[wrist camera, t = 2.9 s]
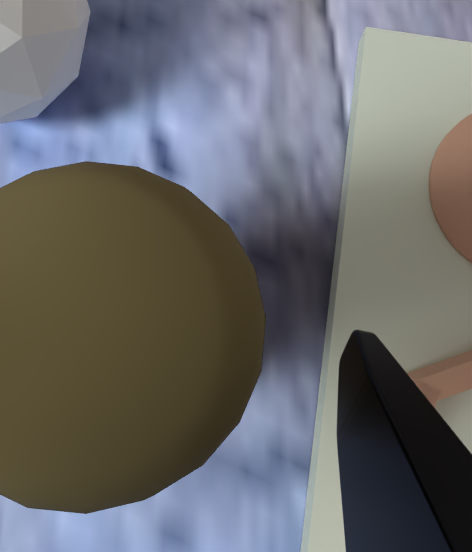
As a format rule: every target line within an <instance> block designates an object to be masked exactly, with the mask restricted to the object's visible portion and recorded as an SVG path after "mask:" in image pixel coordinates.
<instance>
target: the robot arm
mask: <svg viewBox="0 0 472 552" xmlns="http://www.w3.org/2000/svg"><path fill="white" fill-rule="evenodd" d="M337 450H338V462H339V475H340V487H341V499H342V511H343V523H344V535H345V547H346V552H472V454H471V452H470V451H469V450H468V449H467V447H466V446H465V445H464V444H463V442H462V441H461V440H460V439H459V437H458V436H457V435H456V434H455V432H454V431H453V430H452V429H451V427H450V426H449V425H448V424H447V423H446V421H445V420H444V419H443V418H442V416H441V415H440V414H439V413H438V411H437V410H436V409H435V408H434V406H433V405H432V404H431V403H430V401H429V400H428V399H427V398H426V396H425V395H424V394H423V393H422V391H421V390H420V389H419V388H418V386H417V385H416V384H415V383H414V381H413V380H412V379H411V378H410V376H409V375H408V374H407V373H406V371H405V370H404V369H403V368H402V367H401V365H400V364H399V363H398V362H397V360H396V359H395V358H394V357H393V355H392V354H391V353H390V352H389V350H388V349H387V348H386V347H385V345H384V344H383V343H382V342H381V340H380V339H379V338H378V337H377V336H376V335H375V334H374V333H372V332H368V331H363V330H354V331H353V332H352V333H351V335H350V337H349V340H348V342H347V344H346V346H345V348H344V351H343V353H342V355H341V358H340V362H339V375H338V402H337Z"/></svg>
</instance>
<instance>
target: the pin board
mask: <svg viewBox="0 0 472 552" xmlns="http://www.w3.org/2000/svg"><path fill="white" fill-rule="evenodd" d="M354 330H363V331H368V332H372V333H374V334H375V335H376V336H377V337H378V338H379V339H380V340H381V342H382V343H383V344H384V345H385V347H386V348H387V349H388V350H389V352H390V353H391V354H392V355H393V357H394V358H395V359H396V360H397V362H398V363H399V364H400V365H401V367H402V368H403V369H404V370H405V371H406V373H407V374H408V375H409V376H410V378H411V379H412V380H413V381H414V383H415V384H416V385H417V386H418V388H419V389H420V390H421V391H422V393H423V394H424V395H425V396H426V398H427V399H428V400H429V401H430V403H431V404H432V405H433V406H434V408H435V409H436V410H437V411H438V413H439V414H440V415H441V416H442V418H443V419H444V420H445V421H446V423H447V424H448V425H449V426H450V427H451V429H452V430H453V431H454V432H455V434H456V435H457V436H458V437H459V439H460V440H461V441H462V442H463V444H464V445H465V446H466V447H467V449H468V450H469V451H470V452H471V454H472V42H465V41H458V40H451V39H445V38H438V37H431V36H425V35H418V34H411V33H404V32H398V31H391V30H384V29H377V28H371V27H366V28H365V30H364V33H363V35H362V37H361V39H360V42H359V44H358V52H357V61H356V70H355V78H354V87H353V96H352V105H351V114H350V122H349V131H348V140H347V149H346V157H345V166H344V175H343V184H342V192H341V201H340V210H339V219H338V227H337V236H336V245H335V254H334V262H333V271H332V280H331V289H330V297H329V306H328V315H327V324H326V333H325V341H324V350H323V359H322V368H321V376H320V385H319V394H318V403H317V411H316V420H315V429H314V438H313V446H312V455H311V464H310V473H309V481H308V490H307V499H306V508H305V516H304V525H303V534H302V543H301V552H346V547H345V535H344V523H343V511H342V499H341V487H340V475H339V462H338V450H337V402H338V375H339V362H340V358H341V355H342V353H343V351H344V348H345V346H346V344H347V342H348V340H349V337H350V335H351V333H352V332H353V331H354Z"/></svg>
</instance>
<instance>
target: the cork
mask: <svg viewBox="0 0 472 552" xmlns="http://www.w3.org/2000/svg"><path fill="white" fill-rule="evenodd" d="M265 323H266V317H265V312H264V308H263V303H262V299H261V294H260V290H259V285H258V281H257V277H256V272H255V268H254V266H253V265H252V263H251V261H250V260H249V258H248V256H247V255H246V253H245V251H244V250H243V248H242V246H241V244H240V243H239V241H238V239H237V238H236V236H235V234H234V233H233V231H232V229H231V228H230V226H229V225H228V224H227V223H226V222H225V221H224V220H222V219H221V218H220V217H219V216H218V215H217V214H216V213H215V212H213V211H212V210H211V209H210V208H209V207H208V206H207V205H205V204H204V203H203V202H202V201H201V200H200V199H199V198H197V197H196V196H195V195H194V194H193V193H192V192H190V191H189V190H188V189H186V188H185V187H183V186H181V185H178V184H176V183H174V182H171V181H169V180H167V179H165V178H162V177H160V176H158V175H155V174H153V173H151V172H148V171H146V170H144V169H141V168H139V167H135V166H125V165H116V164H106V163H97V162H87V161H86V162H81V163H75V164H70V165H65V166H60V167H54V168H49V169H44V170H39V171H34V172H32V173H30V174H27V175H25V176H23V177H21V178H19V179H17V180H15V181H14V182H12V183H10V184H8V185H6V186H4V187H2V188H0V495H2V496H4V497H6V498H8V499H11V500H13V501H15V502H17V503H19V504H21V505H23V506H25V507H27V508H35V509H45V510H54V511H64V512H74V513H84V514H87V513H91V512H96V511H100V510H104V509H108V508H113V507H117V506H121V505H125V504H130V503H134V502H138V501H142V500H145V499H147V498H149V497H151V496H154V495H155V494H157V493H159V492H160V491H162V490H163V489H165V488H167V487H168V486H170V485H172V484H173V483H175V482H176V481H178V480H180V479H181V478H183V477H185V476H186V475H188V474H189V473H191V472H193V471H194V470H196V469H198V468H199V467H201V466H202V465H204V463H205V462H206V461H207V460H208V459H209V458H210V456H211V455H212V454H213V453H214V452H215V450H216V449H217V448H218V447H219V446H220V445H221V443H222V442H223V441H224V440H225V439H226V438H227V436H228V435H229V434H230V433H231V432H232V431H233V429H234V428H235V427H236V426H237V425H238V424H239V422H240V420H241V418H242V416H243V413H244V411H245V408H246V406H247V404H248V401H249V399H250V397H251V394H252V392H253V389H254V387H255V385H256V382H257V380H258V378H259V375H260V373H261V367H262V356H263V345H264V334H265Z"/></svg>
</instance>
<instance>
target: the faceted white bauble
mask: <svg viewBox="0 0 472 552" xmlns="http://www.w3.org/2000/svg"><path fill="white" fill-rule="evenodd" d="M90 12H91V11H90V8H89V5H88V1H87V0H0V123H6V122H12V121H18V120H23V119H29V118H35V117H37V116H38V115H39V114H40V113H41V112H42V111H43V110H44V109H45V108H46V107H47V106H48V105H49V104H50V103H51V102H52V101H53V100H54V99H55V98H57V97H58V96H59V95H60V94H61V93H62V92H63V91H64V90H65V89H66V88H67V87H68V86H69V85H70V84H71V83H72V82H73V81H74V80H75V79H76V78H77V77H78V76H79V70H80V65H81V60H82V54H83V49H84V44H85V38H86V33H87V28H88V22H89V17H90Z"/></svg>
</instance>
